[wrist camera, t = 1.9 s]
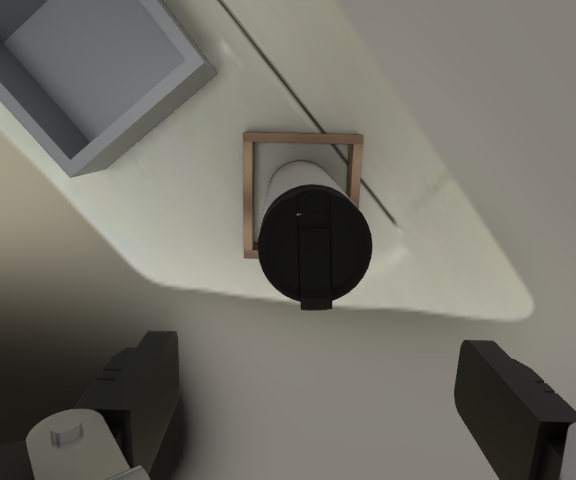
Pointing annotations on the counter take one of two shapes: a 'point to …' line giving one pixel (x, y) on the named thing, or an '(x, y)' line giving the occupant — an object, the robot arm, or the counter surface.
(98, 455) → the robot arm
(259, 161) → the counter surface
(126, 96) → the gray bin
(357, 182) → the walnut holder
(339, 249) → the travel mug
